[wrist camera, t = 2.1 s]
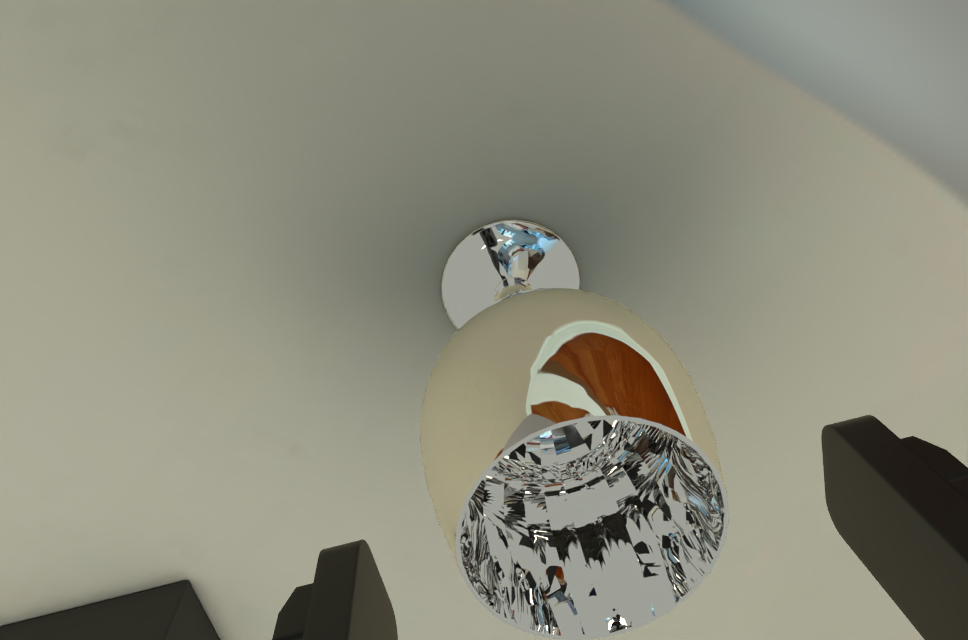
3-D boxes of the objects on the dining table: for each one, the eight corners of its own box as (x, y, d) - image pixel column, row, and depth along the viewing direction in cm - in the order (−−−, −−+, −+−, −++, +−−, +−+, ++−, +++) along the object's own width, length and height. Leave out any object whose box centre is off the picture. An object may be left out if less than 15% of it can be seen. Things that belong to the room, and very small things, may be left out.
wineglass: (635, 284, 23) (828, 523, 12) (508, 399, 25) (579, 709, 14) (512, 158, 22) (610, 308, 10) (382, 290, 23) (346, 548, 12)
